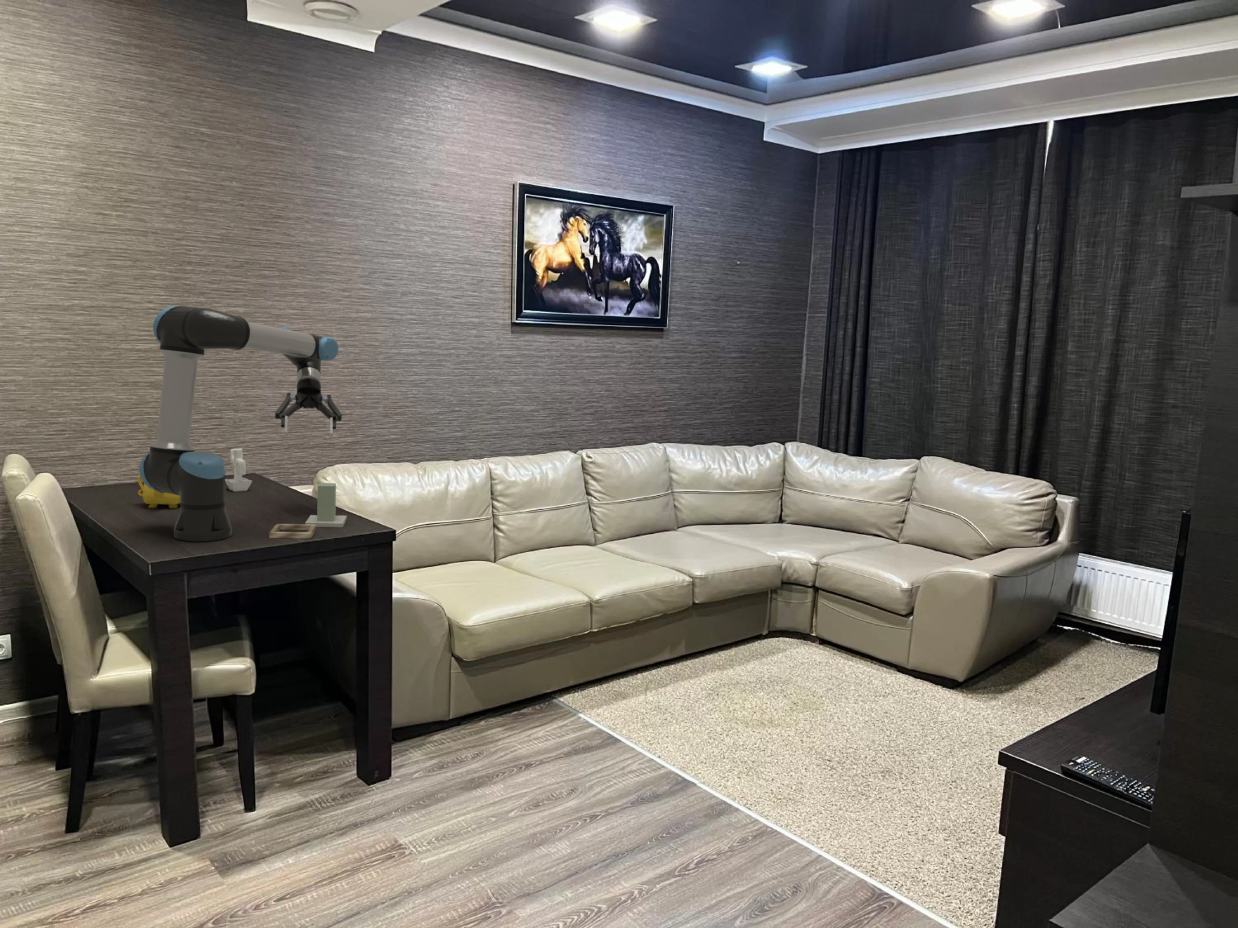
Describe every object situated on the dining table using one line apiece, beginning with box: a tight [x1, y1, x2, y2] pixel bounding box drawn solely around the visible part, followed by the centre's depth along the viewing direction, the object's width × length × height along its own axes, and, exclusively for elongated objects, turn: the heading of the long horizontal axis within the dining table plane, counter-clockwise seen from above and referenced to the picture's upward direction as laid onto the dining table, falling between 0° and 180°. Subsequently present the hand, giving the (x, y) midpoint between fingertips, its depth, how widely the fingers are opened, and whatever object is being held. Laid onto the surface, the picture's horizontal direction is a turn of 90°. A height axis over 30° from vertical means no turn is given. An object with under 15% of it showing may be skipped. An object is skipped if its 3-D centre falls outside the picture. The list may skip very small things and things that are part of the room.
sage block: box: [316, 482, 337, 521], centre depth 283 cm, size 5×5×11 cm
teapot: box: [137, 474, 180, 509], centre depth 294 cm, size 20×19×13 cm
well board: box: [268, 523, 317, 539], centre depth 268 cm, size 11×11×2 cm
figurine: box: [225, 447, 253, 493], centre depth 324 cm, size 7×9×15 cm
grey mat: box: [304, 514, 348, 528], centre depth 284 cm, size 11×11×1 cm
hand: (308, 435), depth 288 cm, fingers open, 13 cm apart
